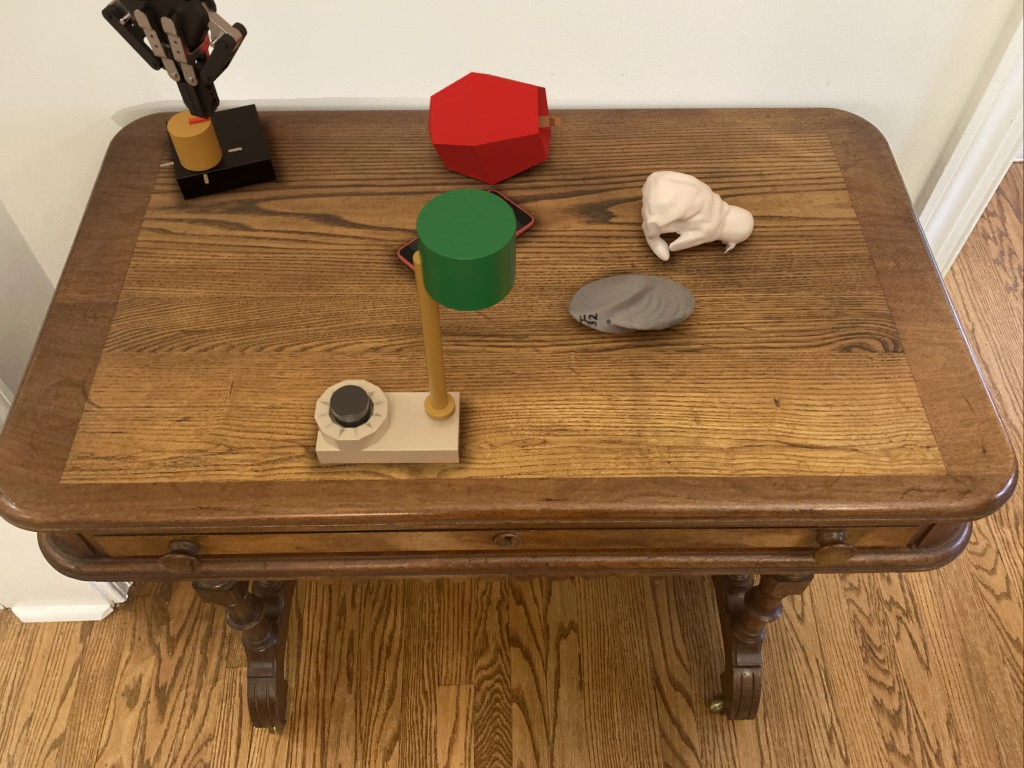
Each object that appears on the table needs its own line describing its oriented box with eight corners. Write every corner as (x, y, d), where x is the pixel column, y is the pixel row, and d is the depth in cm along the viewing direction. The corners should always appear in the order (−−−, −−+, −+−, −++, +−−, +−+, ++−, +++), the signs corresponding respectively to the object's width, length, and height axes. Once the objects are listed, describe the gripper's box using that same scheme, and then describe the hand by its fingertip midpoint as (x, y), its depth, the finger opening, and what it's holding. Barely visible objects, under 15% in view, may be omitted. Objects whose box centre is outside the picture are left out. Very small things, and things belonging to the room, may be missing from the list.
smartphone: (393, 251, 87) (492, 186, 93) (393, 255, 88) (492, 190, 93) (438, 288, 84) (538, 219, 90) (438, 292, 85) (538, 223, 91)
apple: (449, 129, 101) (574, 116, 98) (434, 205, 95) (568, 193, 92) (419, 43, 92) (557, 25, 88) (400, 121, 85) (548, 105, 82)
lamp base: (319, 464, 74) (310, 440, 70) (327, 405, 77) (319, 379, 74) (459, 463, 74) (456, 439, 71) (460, 405, 77) (458, 379, 74)
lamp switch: (331, 427, 72) (327, 416, 70) (335, 396, 73) (331, 384, 72) (369, 427, 72) (366, 416, 70) (372, 396, 73) (369, 384, 72)
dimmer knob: (183, 175, 90) (168, 138, 86) (178, 149, 93) (163, 112, 89) (225, 166, 91) (212, 129, 87) (219, 140, 94) (206, 103, 90)
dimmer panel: (174, 214, 91) (164, 191, 89) (162, 145, 98) (152, 123, 95) (280, 190, 93) (273, 167, 91) (261, 125, 100) (254, 102, 97)
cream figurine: (646, 154, 84) (765, 165, 85) (628, 217, 91) (738, 228, 92) (651, 198, 80) (775, 210, 81) (631, 261, 87) (746, 271, 88)
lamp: (422, 441, 70) (395, 259, 53) (426, 378, 74) (402, 188, 57) (513, 440, 70) (517, 259, 53) (513, 377, 74) (515, 188, 57)
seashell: (675, 373, 79) (710, 290, 84) (673, 339, 75) (710, 253, 79) (562, 342, 84) (600, 264, 88) (552, 308, 79) (593, 228, 83)
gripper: (241, -92, 63) (290, 104, 78) (93, -124, 66) (167, 72, 80) (184, -41, 59) (246, 156, 74) (29, -78, 62) (118, 119, 76)
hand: (205, 111), depth 77 cm, fingers closed
